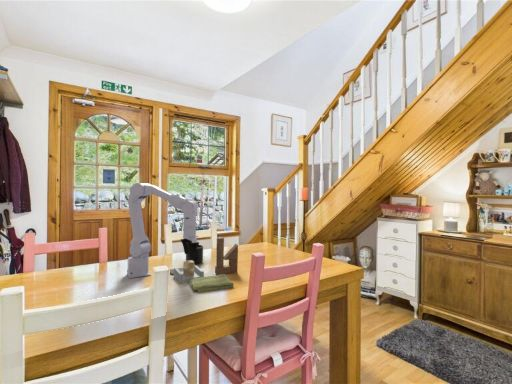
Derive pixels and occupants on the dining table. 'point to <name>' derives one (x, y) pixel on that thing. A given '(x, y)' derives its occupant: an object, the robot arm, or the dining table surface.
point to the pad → (173, 270)
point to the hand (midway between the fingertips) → (189, 255)
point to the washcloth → (211, 283)
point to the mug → (196, 255)
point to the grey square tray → (185, 279)
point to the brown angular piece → (226, 258)
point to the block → (188, 268)
